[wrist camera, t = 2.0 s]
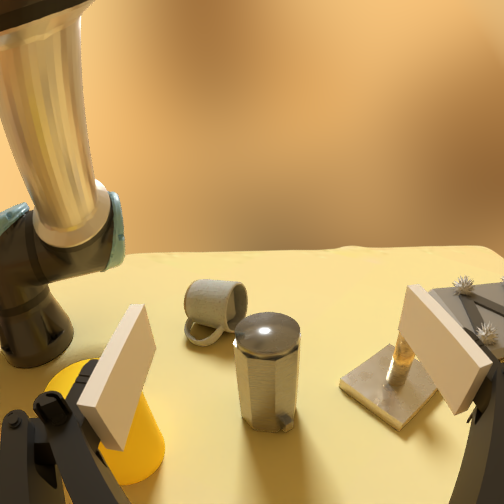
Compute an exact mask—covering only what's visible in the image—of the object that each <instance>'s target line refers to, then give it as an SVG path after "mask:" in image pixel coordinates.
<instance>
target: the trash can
mask: <svg viewBox="0 0 504 504" xmlns="http://www.w3.org/2000/svg"><path fill="white" fill-rule="evenodd" d="M300 340H301V333H300V327H299V325H298V323H297V322H296V321H295V320H294V319H292V318H291V317H289V316H287V315H284V314H280V313H274V312H264V313H257V314H253V315H250V316H248V317H246V318H244V319H243V320H241V321H240V322H239V323H238V324H237V326H236V328H235V340H234V342H233V348H234V357H235V365H236V374H237V382H238V391H239V399H240V407H241V415H242V417H243V418H244V419H245V421H246V422H247V423H248V424H249V426H250V427H251V428H252V429H253V430H258V431H266V432H273V433H275V432H277V431H279V430H281V429H283V430H284V431H285V432H287V431H289V430H291V429H292V428H293V424H294V415H295V410H296V401H297V388H298V373H299V358H300Z"/></svg>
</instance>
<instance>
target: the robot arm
mask: <svg viewBox="0 0 504 504" xmlns="http://www.w3.org/2000/svg"><path fill="white" fill-rule="evenodd" d="M94 1H95V0H0V118H1V121H2V124H3V127H4V130H5V133H6V136H7V139H8V142H9V145H10V147H11V150H12V153H13V156H14V158H15V161H16V163H17V166H18V168H19V171H20V173H21V176H22V178H23V180H24V183H25V185H26V187H27V189H28V192H29V194H30V196H31V198H32V200H33V203H34V205H35V207H34V210H32V211H29V206H28V205H27V203H25V202H24V203H22V204H19V205H15V206H13V207H11V208H9V209H7V210H5V211H3V212H1V213H0V347H1V350H2V352H3V354H4V356H5V357H6V359H7V361H8V362H9V363H10V364H11V365H13V366H16V367H20V368H30V367H35V366H39V365H42V364H44V363H47V362H49V361H51V360H52V359H54V358H55V357H57V356H58V355H59V354H61V353H62V352H63V351H64V350H65V349H66V348H67V347H68V345H69V344H70V342H71V340H72V338H73V334H74V330H73V327H72V324H71V321H70V319H69V317H68V315H67V314H66V313H65V311H64V310H63V309H62V307H61V306H60V305H59V303H58V302H57V301H56V299H55V298H54V297H53V295H52V294H51V292H50V290H49V287H48V283H52V282H56V281H60V280H64V279H69V278H73V277H77V276H82V275H86V274H90V273H95V272H99V271H100V272H105V271H106V270H108V269H111V268H114V267H117V266H119V265H121V264H122V262H123V260H124V257H125V239H124V226H123V217H122V209H121V205H120V200H119V196H118V195H117V194H116V193H115V192H109V191H107V190H106V188H105V187H104V185H103V184H101V183H100V182H99V181H97V180H96V179H95V177H94V171H93V166H92V160H91V154H90V147H89V141H88V134H87V126H86V117H85V108H84V97H83V86H82V68H81V15H82V13H83V12H84V11H85V10H86V9H87V8H88V7H89V6H90V5H91V4H92V3H93V2H94ZM398 330H399V332H400V333H401V334H402V336H403V337H404V339H405V340H406V342H407V343H408V345H409V346H410V347H411V349H412V350H413V352H414V353H415V355H416V356H417V358H418V359H419V361H420V362H421V364H422V365H423V367H424V368H425V370H426V371H427V373H428V374H429V376H430V378H431V379H432V381H433V382H434V384H435V385H436V387H437V388H438V390H439V392H440V393H441V395H442V396H443V398H444V400H445V401H446V403H447V404H448V406H449V408H450V409H451V411H452V413H453V414H454V416H455V415H457V414H460V413H462V412H464V411H467V410H468V408H469V407H470V405H471V403H472V401H474V403H475V404H476V407H475V409H474V410H473V412H472V413H471V415H470V417H469V418H468V420H467V422H466V423H469V421H470V420H471V419H472V421H471V426H470V431H469V436H468V440H467V445H466V449H465V453H464V457H463V460H462V464H461V468H460V471H459V474H458V478H457V481H456V484H455V487H454V490H453V493H452V496H451V499H450V501H449V504H504V363H501V362H500V361H499V360H498V359H497V358H496V357H495V356H494V354H493V353H492V352H491V351H490V350H489V349H488V348H487V347H486V346H484V343H483V342H482V341H481V340H479V338H478V337H477V336H476V335H475V334H474V333H473V332H472V331H470V330H469V329H467V328H465V327H463V328H462V327H461V326H460V325H459V324H458V323H457V322H456V321H455V320H454V319H453V318H452V317H451V316H450V315H449V314H448V313H447V312H446V311H445V310H444V309H443V307H442V306H441V305H440V304H439V303H438V302H437V301H436V300H435V299H434V298H433V297H432V296H431V295H430V294H429V293H428V292H427V291H426V290H425V289H424V288H423V287H422V286H420V285H419V284H416V285H408V286H407V289H406V294H405V300H404V304H403V309H402V314H401V318H400V323H399V327H398ZM155 351H156V345H155V342H154V338H153V335H152V331H151V327H150V324H149V320H148V316H147V312H146V308H145V304H130V306H129V307H128V309H127V311H126V313H125V314H124V316H123V318H122V319H121V321H120V323H119V325H118V326H117V328H116V330H115V332H114V333H113V335H112V337H111V339H110V341H109V342H108V344H107V346H106V348H105V350H104V352H103V353H102V355H101V357H100V359H91V360H89V361H88V362H87V363H86V364H85V365H84V366H83V367H82V369H81V371H80V373H79V376H77V378H76V380H75V383H73V385H72V387H71V389H70V391H69V393H68V395H67V397H66V398H65V399H64V397H63V396H62V395H61V393H59V392H57V391H47V392H44V393H42V394H40V395H39V396H38V397H37V398H36V399H35V401H34V404H33V410H34V411H35V413H36V414H37V416H38V417H39V418H29V417H28V416H27V414H26V413H25V412H24V411H22V410H13V411H11V412H9V413H8V414H7V415H6V416H5V417H4V419H3V423H2V431H1V441H0V504H66V503H65V498H64V491H63V485H62V479H63V481H64V484H65V486H66V488H67V491H68V493H69V495H70V497H71V500H72V502H73V504H131V503H130V501H129V500H128V498H127V497H126V495H125V493H124V492H123V490H122V489H121V487H120V485H119V484H118V482H117V480H116V479H115V477H114V475H113V474H112V472H111V470H110V468H109V467H108V465H107V463H106V461H105V459H104V457H103V456H102V454H101V452H100V450H99V449H98V446H99V443H100V441H101V442H102V444H103V445H104V446H105V448H106V449H111V450H117V451H124V448H125V444H126V441H127V437H128V434H129V431H130V427H131V424H132V421H133V417H134V414H135V411H136V408H137V405H138V402H139V398H140V395H141V392H142V389H143V386H144V383H145V380H146V377H147V374H148V371H149V368H150V365H151V362H152V359H153V357H154V354H155ZM61 476H62V478H61Z"/></svg>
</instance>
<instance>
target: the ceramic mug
mask: <svg viewBox="0 0 504 504" xmlns="http://www.w3.org/2000/svg"><path fill="white" fill-rule="evenodd" d="M247 305H248V299H247V291H246V288H245V286H244V285H243V284H242V283H241V282H234V281H220V280H209V279H203V280H197V281H194V282H193V283H192V284H191V285H190V286H189V287H188V289H187V291H186V294H185V298H184V309H185V313H186V315H187V317H188V319H187V321H186V324H185V328H184V331H185V334H186V336H187V338H188V339H189V340H190V342H191V343H193V344H195V345H197V346H208V345H210V344H212V343H214V342H215V341H216V340H217V339H218V338H219V337H220V336H221V335H222V333H223V332H224V331H226V332H230V333H233V332H235V328H236V326H237V324H238V323H239V322H240V321H241V320H243V319H244V318H245V316H246V312H247ZM194 322H195V323H197V324H201V325H205V326H209V327H212V328H215V329H216V330H215V331H214V333H213V334H211V335H210V336H209V337H207V338H205V339H203V340H196V339H195V338H194V337H193V336H191V335H190V329H191V327H192V325H193V323H194Z"/></svg>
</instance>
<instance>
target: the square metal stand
mask: <svg viewBox="0 0 504 504" xmlns="http://www.w3.org/2000/svg"><path fill="white" fill-rule="evenodd" d="M414 357H415V353H414V352H413V350H412V349H411V347H410V346H409V345H408V343H407V342H406V340H405V339H404V337H403V336H402V334H401V333H400V332H399V335H398V339H397V343H396V346H395V347H394V346H392V345H390V344H388V345H387V346H386V347H385V348H383V349H382V350H381V351H379V352H378V353H376V354H375V355H374V356H372V357H371V358H370V359H368V360H367V361H365V362H364V363H363V364H361V365H360V366H358V367H357V368H355V369H354V370H352V371H351V372H349V373H348V374H347V375H345V376H344V377H342V378H340V383H339V387H340V388H341V389H342V390H344V391H345V392H346V393H348V394H349V395H350V396H352V397H353V398H354V399H356V400H357V401H358V402H360V403H361V404H362V405H363V406H365V407H366V408H367V409H369V410H370V411H372V412H373V413H374V414H376V415H377V416H378V417H380V418H381V419H382V420H384V421H385V422H386V423H388V424H389V425H391V426H392V427H393V428H395V429H396V430H397V431H400V430H401V429H402V428H403V427H404V426H405V425H406V424H407V423H408V422H409V421H410V420H411V419H412V418H413V417H414V416H415V415H416V414H417V413H418V412H419V410H420V409H421V408H422V407H423V406H424V405H425V404H426V403H427V402H428V401H429V400H430V398H431V397H432V396H433V395H434V394H435V393H436V392H437V390H438V388H437V387H436V385H435V384H434V382H433V381H432V379H431V378H430V376H429V374H428V373H427V371H426V370H425V368H424V367H423V365H422V364H421V362H419V361H418V360H416V359H414Z"/></svg>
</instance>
